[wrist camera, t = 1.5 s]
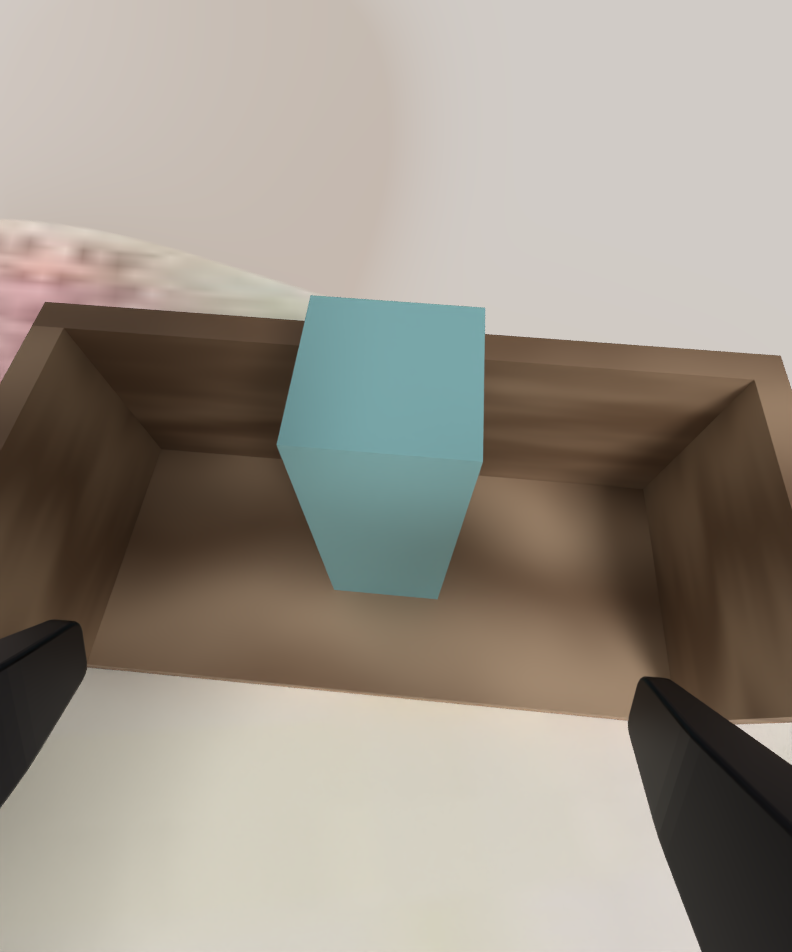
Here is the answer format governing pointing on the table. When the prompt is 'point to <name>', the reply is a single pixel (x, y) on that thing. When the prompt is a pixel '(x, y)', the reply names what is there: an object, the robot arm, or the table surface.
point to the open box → (478, 545)
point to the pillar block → (386, 438)
